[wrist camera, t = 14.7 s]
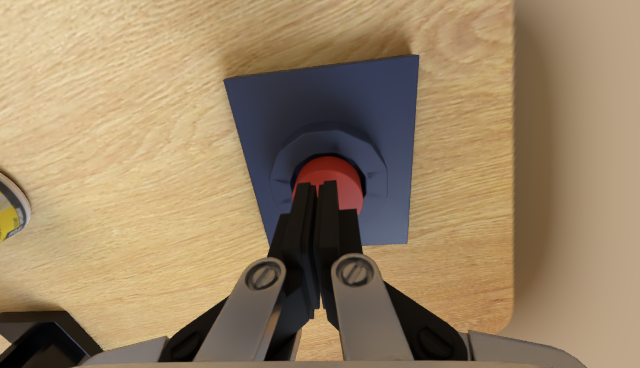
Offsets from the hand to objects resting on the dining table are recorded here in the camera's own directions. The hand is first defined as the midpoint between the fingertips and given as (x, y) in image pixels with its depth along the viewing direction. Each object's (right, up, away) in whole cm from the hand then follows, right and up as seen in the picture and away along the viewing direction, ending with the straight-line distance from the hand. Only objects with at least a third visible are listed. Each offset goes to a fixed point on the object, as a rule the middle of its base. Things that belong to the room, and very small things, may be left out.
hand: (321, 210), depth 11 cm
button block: (+1, +2, +5) cm, 6 cm away
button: (0, +1, +3) cm, 3 cm away
